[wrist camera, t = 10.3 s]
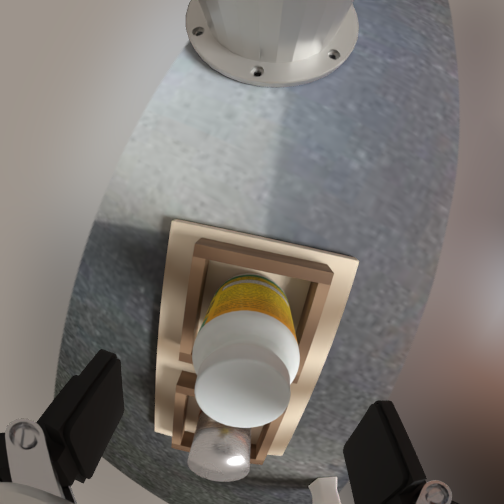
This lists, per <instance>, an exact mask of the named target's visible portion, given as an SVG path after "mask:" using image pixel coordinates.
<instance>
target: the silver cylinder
mask: <svg viewBox="0 0 504 504" xmlns="http://www.w3.org/2000/svg"><path fill="white" fill-rule="evenodd" d="M251 429H252V427H251V428H239V427H232V426H227V425H224V424H222V423H219V422H217V421H215V420H213V419H212V418H210V417H209V416H208V415H207V414H205V413H204V412H203V411H202V409H201V408H200V412H199V416H198V422H197V426H196V430H195V434H194V438H193V442H192V445H191V449H190V453H189V457H188V466H189V468H190V469H191V470H192V471H193V472H194V473H196V474H197V475H199V476H201V477H203V478H206V479H209V480H213V481H221V482H229V481H236V480H239V479H242V478H244V477H245V476H246V475H247V474H248V473H249V466H250V447H251Z"/></svg>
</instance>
